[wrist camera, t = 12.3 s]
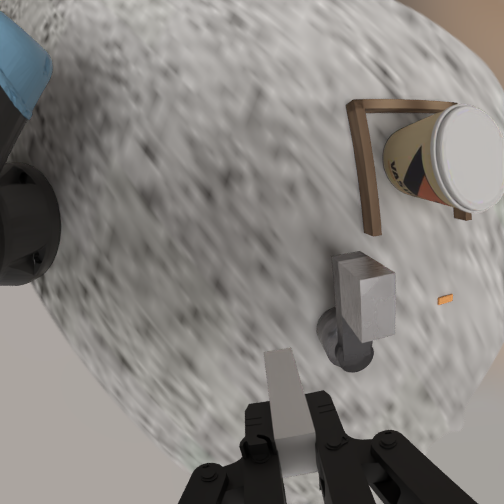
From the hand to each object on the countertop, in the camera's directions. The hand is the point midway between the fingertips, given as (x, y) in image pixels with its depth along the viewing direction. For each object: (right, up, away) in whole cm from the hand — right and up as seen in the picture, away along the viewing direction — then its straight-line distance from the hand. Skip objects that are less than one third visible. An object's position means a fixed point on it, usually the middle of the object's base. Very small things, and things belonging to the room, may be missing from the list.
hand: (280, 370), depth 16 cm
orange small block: (+24, 0, +18) cm, 30 cm away
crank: (+8, +1, +12) cm, 15 cm away
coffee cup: (+16, +17, +15) cm, 28 cm away
